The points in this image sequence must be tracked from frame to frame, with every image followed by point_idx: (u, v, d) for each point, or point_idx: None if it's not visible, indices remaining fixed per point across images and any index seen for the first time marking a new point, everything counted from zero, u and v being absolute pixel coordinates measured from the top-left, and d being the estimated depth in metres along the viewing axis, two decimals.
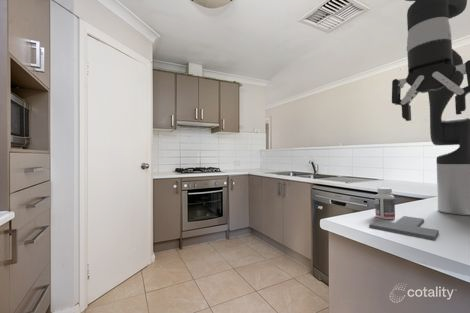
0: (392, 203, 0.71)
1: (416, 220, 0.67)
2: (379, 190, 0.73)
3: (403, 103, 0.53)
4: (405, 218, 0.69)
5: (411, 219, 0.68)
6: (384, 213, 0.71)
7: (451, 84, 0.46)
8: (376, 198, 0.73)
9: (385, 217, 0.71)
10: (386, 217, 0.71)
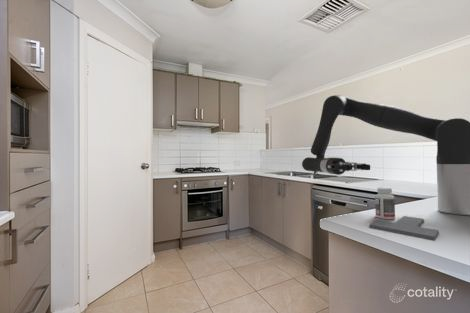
0: (392, 203, 0.71)
1: (416, 220, 0.67)
2: (379, 190, 0.73)
3: (362, 169, 0.89)
4: (405, 218, 0.69)
5: (411, 219, 0.68)
6: (384, 213, 0.71)
7: (340, 171, 0.89)
8: (376, 198, 0.73)
9: (385, 217, 0.71)
10: (386, 217, 0.71)
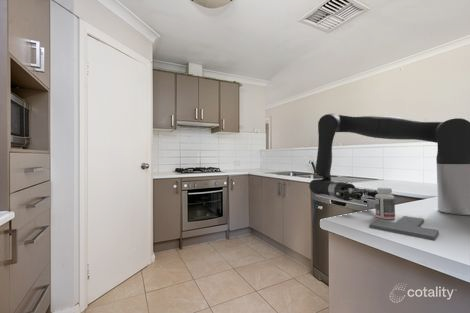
0: (392, 203, 0.71)
1: (416, 220, 0.67)
2: (379, 190, 0.73)
3: None
4: (405, 218, 0.69)
5: (411, 219, 0.68)
6: (384, 213, 0.71)
7: None
8: (376, 198, 0.73)
9: (385, 217, 0.71)
10: (386, 217, 0.71)
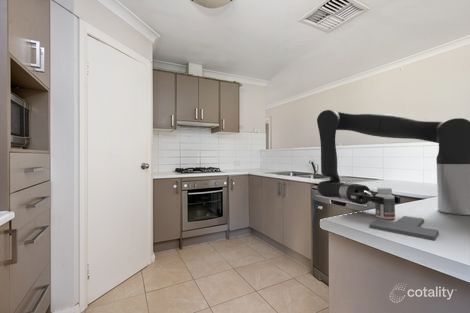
0: (392, 203, 0.71)
1: (416, 220, 0.67)
2: (379, 190, 0.73)
3: None
4: (405, 218, 0.69)
5: (411, 219, 0.68)
6: (384, 213, 0.71)
7: (368, 202, 0.77)
8: None
9: (385, 217, 0.71)
10: (386, 217, 0.71)
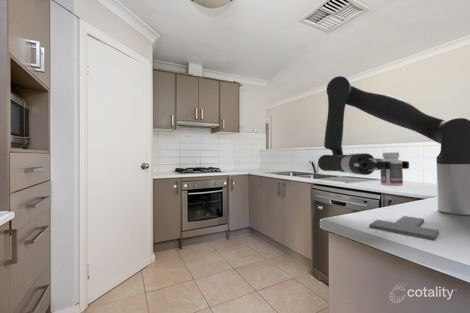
0: (399, 168, 0.64)
1: (416, 220, 0.67)
2: (385, 155, 0.66)
3: None
4: (405, 218, 0.69)
5: (411, 219, 0.68)
6: (390, 179, 0.64)
7: (373, 170, 0.69)
8: None
9: (391, 184, 0.64)
10: (393, 183, 0.64)
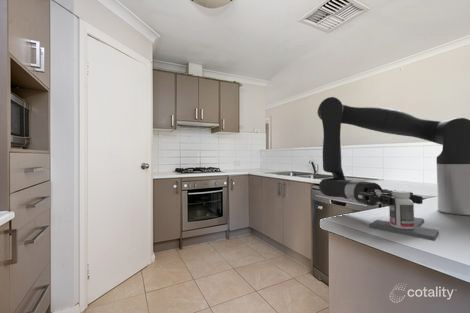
0: (411, 210, 0.58)
1: (416, 220, 0.67)
2: (394, 194, 0.60)
3: None
4: None
5: None
6: (401, 222, 0.58)
7: (377, 203, 0.64)
8: None
9: (402, 227, 0.58)
10: (404, 227, 0.58)
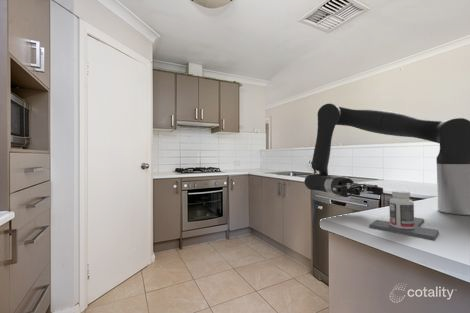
0: (411, 210, 0.58)
1: (416, 220, 0.67)
2: (395, 194, 0.60)
3: (373, 192, 0.76)
4: None
5: None
6: (401, 222, 0.58)
7: (348, 194, 0.77)
8: (391, 203, 0.61)
9: (402, 227, 0.58)
10: (404, 227, 0.58)
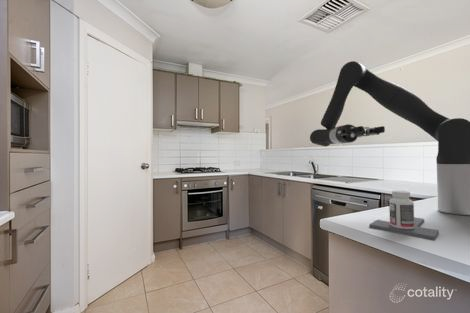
0: (411, 210, 0.58)
1: (416, 220, 0.67)
2: (395, 194, 0.60)
3: (375, 134, 0.82)
4: None
5: None
6: (401, 222, 0.58)
7: (352, 135, 0.83)
8: (391, 203, 0.61)
9: (402, 227, 0.58)
10: (404, 227, 0.58)
